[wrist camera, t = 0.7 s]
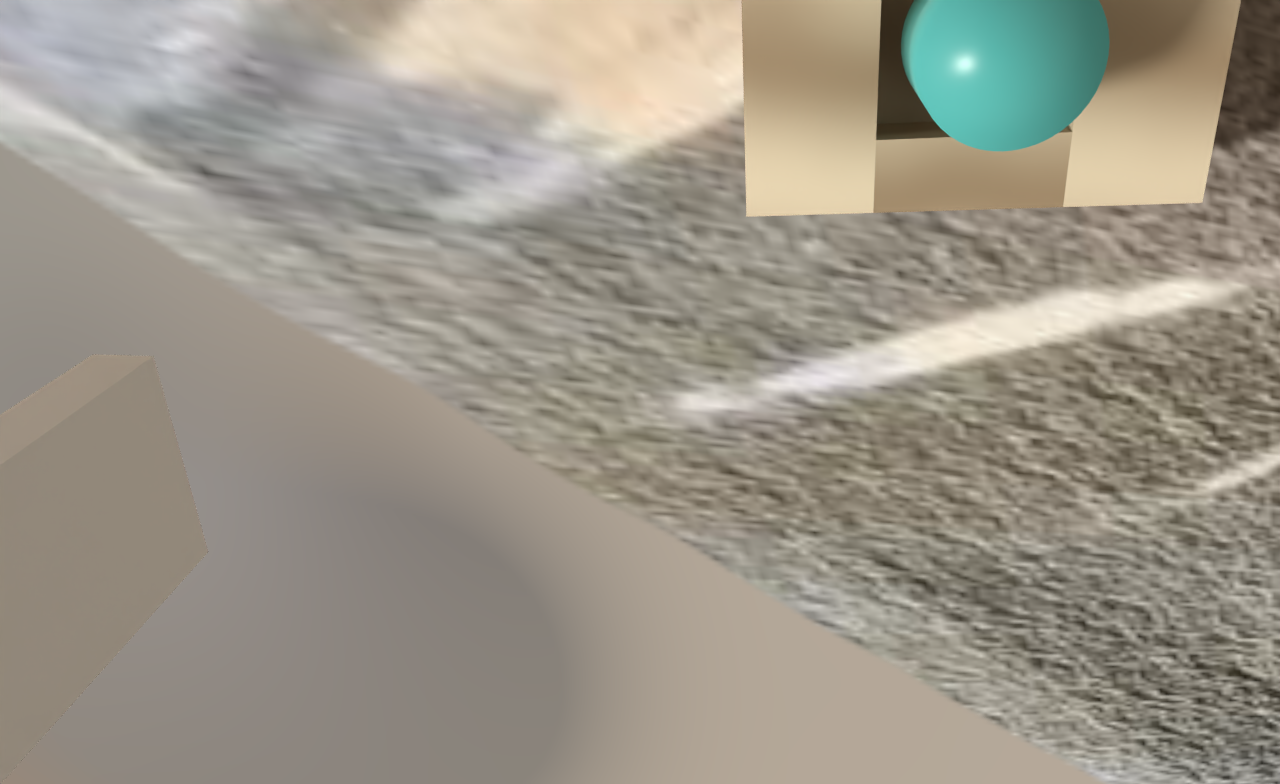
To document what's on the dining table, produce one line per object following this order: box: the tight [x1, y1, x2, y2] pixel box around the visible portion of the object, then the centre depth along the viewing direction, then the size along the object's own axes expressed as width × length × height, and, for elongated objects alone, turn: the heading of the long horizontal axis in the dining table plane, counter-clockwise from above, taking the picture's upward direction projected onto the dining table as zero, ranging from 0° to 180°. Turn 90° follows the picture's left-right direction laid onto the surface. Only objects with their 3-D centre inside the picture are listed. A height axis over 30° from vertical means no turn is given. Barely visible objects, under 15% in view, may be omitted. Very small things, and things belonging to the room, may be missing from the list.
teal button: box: [901, 0, 1110, 152], centre depth 23 cm, size 4×4×4 cm
